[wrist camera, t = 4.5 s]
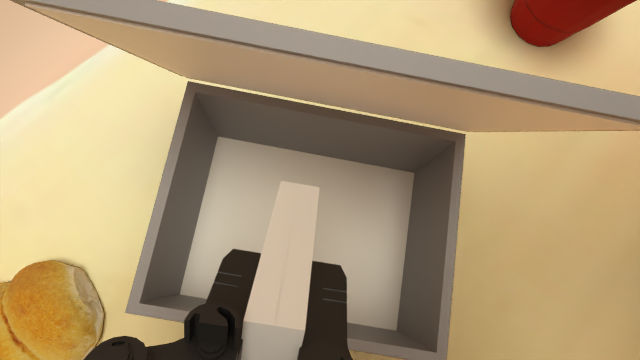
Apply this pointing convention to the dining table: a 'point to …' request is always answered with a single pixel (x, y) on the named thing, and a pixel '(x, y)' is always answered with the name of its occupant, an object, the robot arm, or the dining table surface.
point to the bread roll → (49, 314)
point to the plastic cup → (558, 18)
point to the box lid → (342, 69)
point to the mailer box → (332, 213)
